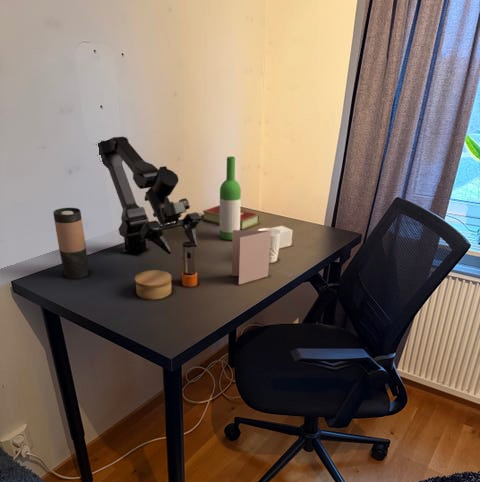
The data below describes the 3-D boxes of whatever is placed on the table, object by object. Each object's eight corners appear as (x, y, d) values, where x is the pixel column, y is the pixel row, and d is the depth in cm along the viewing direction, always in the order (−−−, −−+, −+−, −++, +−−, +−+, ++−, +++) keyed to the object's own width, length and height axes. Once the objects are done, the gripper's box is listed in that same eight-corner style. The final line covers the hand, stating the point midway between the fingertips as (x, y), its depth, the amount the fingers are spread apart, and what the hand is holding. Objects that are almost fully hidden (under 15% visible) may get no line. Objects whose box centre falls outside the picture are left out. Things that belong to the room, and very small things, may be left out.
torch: (182, 280, 136) (180, 240, 130) (197, 280, 137) (196, 240, 131) (182, 286, 132) (180, 246, 126) (197, 286, 133) (196, 246, 127)
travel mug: (94, 271, 140) (86, 209, 131) (79, 280, 134) (69, 216, 124) (74, 267, 142) (64, 206, 133) (58, 276, 136) (46, 213, 126)
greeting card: (267, 275, 141) (270, 229, 134) (269, 285, 135) (272, 238, 128) (231, 274, 141) (232, 229, 134) (232, 284, 134) (233, 237, 127)
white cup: (272, 265, 148) (274, 237, 143) (251, 260, 152) (253, 232, 147) (282, 258, 154) (285, 230, 149) (263, 253, 158) (264, 226, 153)
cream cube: (281, 240, 170) (282, 225, 167) (291, 245, 166) (292, 230, 163) (268, 243, 167) (269, 228, 164) (279, 248, 162) (280, 232, 160)
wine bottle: (243, 236, 172) (246, 156, 158) (232, 242, 167) (234, 160, 152) (226, 232, 176) (227, 154, 162) (215, 238, 170) (215, 157, 156)
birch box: (129, 295, 126) (127, 281, 124) (148, 281, 135) (146, 267, 133) (161, 302, 123) (160, 287, 121) (178, 287, 132) (177, 273, 130)
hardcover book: (220, 213, 199) (220, 204, 197) (258, 223, 188) (259, 213, 186) (202, 219, 190) (202, 210, 188) (242, 230, 179) (242, 220, 177)
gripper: (141, 194, 122) (165, 243, 120) (197, 185, 133) (220, 230, 131) (130, 215, 131) (152, 262, 129) (183, 205, 142) (204, 248, 139)
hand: (183, 250), depth 132 cm, fingers open, 9 cm apart
